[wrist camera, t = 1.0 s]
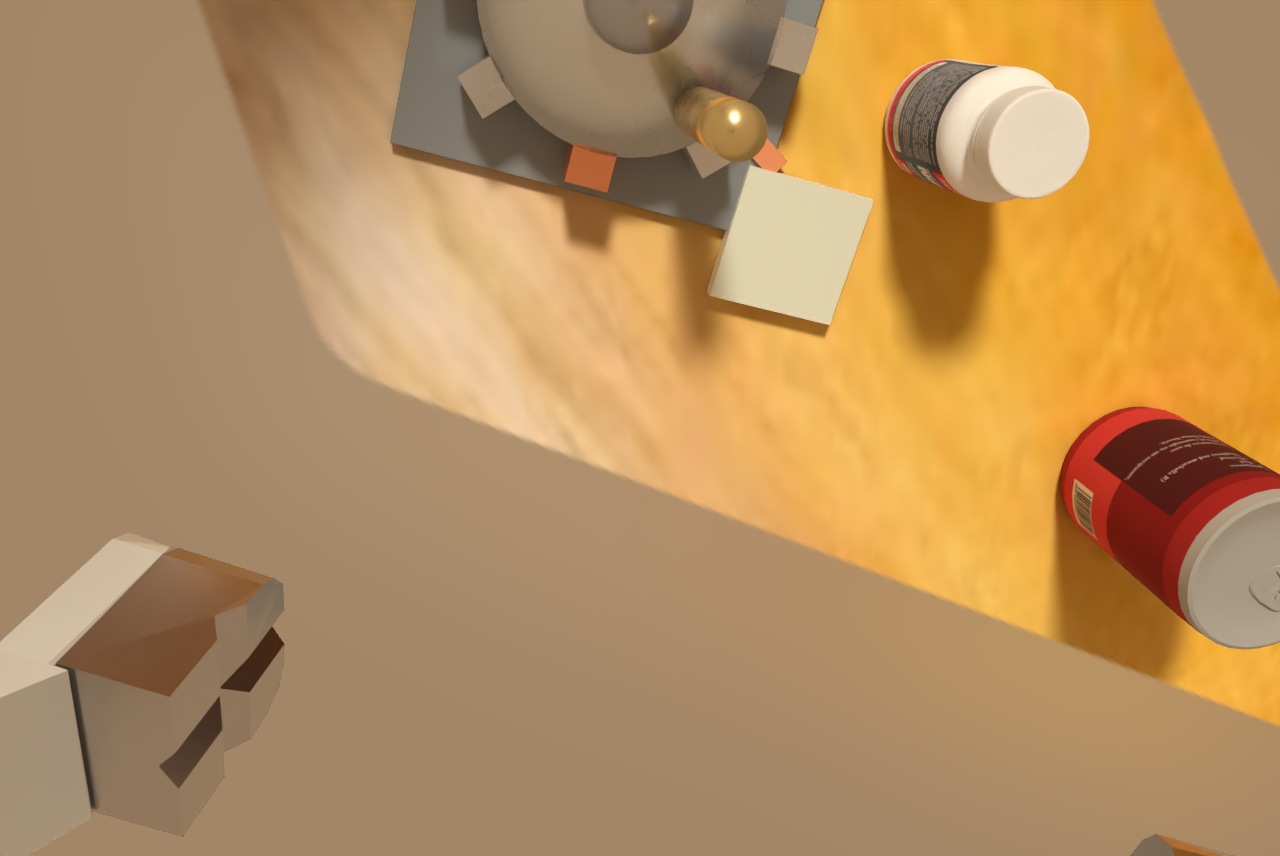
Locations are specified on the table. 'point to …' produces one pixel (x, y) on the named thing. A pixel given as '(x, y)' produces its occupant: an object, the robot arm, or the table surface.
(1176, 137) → the table surface
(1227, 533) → the canned food
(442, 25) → the gray square plate
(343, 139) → the table surface
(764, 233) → the pad
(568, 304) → the table surface
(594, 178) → the sprocket
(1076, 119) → the pill bottle
